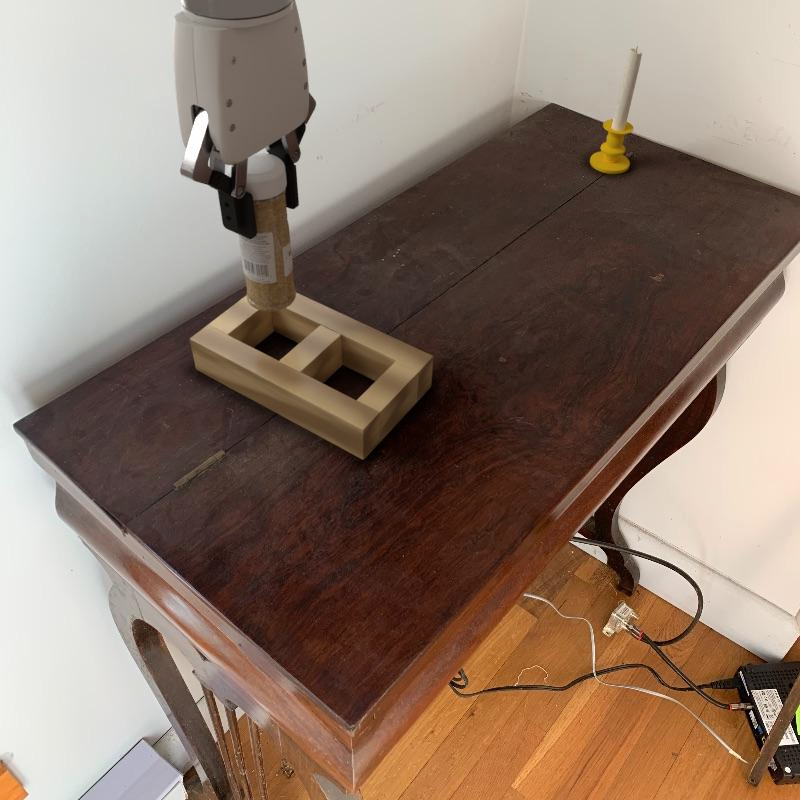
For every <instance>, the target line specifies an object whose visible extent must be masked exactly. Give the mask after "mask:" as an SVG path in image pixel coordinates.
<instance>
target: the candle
mask: <svg viewBox="0 0 800 800" xmlns="http://www.w3.org/2000/svg"><path fill="white" fill-rule="evenodd" d="M638 48H639V47H638V45H637V46H636V47H635V48H631V49H630V50H629V54H628V57H627V60H626V65H625V69H624V73H623V77H622V81H621V86H620V89H619V94H618V98H617V102H616V107H615V109H614V110H615V111H614V115H613V118H612V119H607V120H605V121H604V122H603V123H602V127H603V129H604V130H605V131H607V133H608V134H607V135H606V141H605V142H602V144H601V145H600V151H597V152H594V153H592V155H591V156H590V158H589V164H590V166H591V168H593V169H595V170H596V171H598V172H600V173H603V174H609V175H620V174H623V173H625V172H627V171H628V170H629V168H630V165H631V161H630V159H629V158H628V157H626V156H625V152H626V150H627V149H626V146H625V145H624V144H623V143H624V142H625V136H626V135H627V134H631V133H632V132H634V126H633V125H632V124H631V123H630V122H629V121H628V117H629V113H630V108H631V106H632V105H631V104H632V100H633V96H634V91H635V88H636V83H637V79H638V74H639V70H640V68H641V67H640V66H641V62H642V56H643V52H642V51H641V50H639V49H638Z"/></svg>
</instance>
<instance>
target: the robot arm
mask: <svg viewBox="0 0 800 800" xmlns="http://www.w3.org/2000/svg"><path fill="white" fill-rule="evenodd" d="M180 4H181V11H179V12H177V13H176V14H175V15H174V19H173V30H172V59H173V60H172V62H173V80H174V89H175V90H174V91H175V100H176V109H177V118H178V123H179V130H180V134H181V139H182V143H183V146H184V148H185V152H184V155H183V159H182V162H181V166H180V170H179V172H180V175H181V176H182V177H183V178H186V179H189V180H191V181H193V182H196V183H199V184H202V185H207V186H209V187H210V188H211V189H214V190H215V191H217V195H218V204H219V210H220V215H221V222H222V225H223V227H224V228H225V229H226V230H228V231H230V232H232V233H235V234H237V235H238V234H239V235H242V236H244V237H246V238H248V239H252V238H254V237H255V236H256V235H257V227H256V219H255V211H254V202H253V196H252V194H251V193H249V192H246V182H247V166H248V158H249V157H250V156H252V155H254V154H256V153H260V152H261V151H262V150H264V149H265V151H266V153H267V154H271V155H274V156H276V157H278V158H280V159H281V160H282V161H283V163H284V165H285V171H286V180H287V186H286V192H285V198H286V207H287V208H288V209H289V210H295V209H296V208H298V207H299V205H300V200H299V187H298V174H297V173H298V172H297V164H296V163H298V162H299V161H300V160H301V159H300V158H301V156H302V152H301V148H300V144H301V143H302V141H303V137H304V135H305V134H306V129H307V124H308V123H309V120H310V119H311V117H312V115H313V113H314V112H315V110H316V107H317V101H316V99H315V98H314V97H313V96H312V94H311V93H310V88H309V87H310V85H309V74H308V64H307V54H306V48H305V40H304V35H303V29H302V23H301V18H300V14H299V10H298V5H297V2H296V0H180ZM229 165H232V169H231V177H229V176H228V174H226V166H229Z"/></svg>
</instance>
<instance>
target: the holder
mask: <svg viewBox="0 0 800 800" xmlns="http://www.w3.org/2000/svg"><path fill="white" fill-rule="evenodd" d="M273 332H275V333H277V334H279V335H280V336H283V337H285V338H287V339H289V340H291V341H293V342H295V343H297V344H296V346H294V347H293V348H292V349H291V350H290V351H289V352H288V353H287V354H286V355H284V356H282V357H281V358H280V359H279V360H278V359H276V358H274V357H273V356H270V355H268V354H266V353H264V352H262V351H260V350H259V349H256V347H257V346H258V345H259V344H261V342H263V341H265V340H266V339H267V338H268V337H269V336H270V335H271V334H273ZM189 343H190V348H191V353H192V357H193V361H194V367H195V370H196V371H197V372H200V373H202V374H204V376H207V377H209V378H211V379H212V380H214V381H216V382H218V383H220V384H222V385H224V386H226V387H227V388H229V389H231V390H233V391H234V392H237V393H238V394H240V395H242V396H244V397H246V398H248V399H249V400H250V401H251V400H252V402H255V403H257V404H259V405H260V406H262V407H264V408H266V409H268V410H270V411H272V412H273V413H276V414H278V415H279V416H281V417H283V418H285V419H287V420H288V421H290V422H292V423H294V424H296V425H298V426H299V427H301V428H303V429H305V430H307V431H309V432H310V433H312V434H314V435H317V437H320V438H322V439H323V440H325V441H327V442H329V443H331V444H333V445H335V446H337V447H338V448H340V449H342V450H344V451H345V452H347V453H350V454H351V455H353V456H355V457H357V458H359V459H360V460H363V461H364V460H366V458H367V457H368V456H369V455H370V454H371V452H373V450H374V449H375V448H377V446H378V445H379V444H380V443H381V442H382V441H383V440H384V439H385V438H386V436H387V435H388V434H389V433H390V432H391V431H392V430H393V429H394V428H395V427H396V426H397V424H398V423H400V422H401V420H402V419H403V418H404V417H406V415H407V414H408V413H409V412H410V410H411V409H412V408H414V406H415V405H416V404H417V403H418V402H419V401H420V400H421V398H422V397H423V396H424V395H425V394H426V393H427V392H428V391H429V390H430V389H431V388H432V381H433V369H434V355H432V354H431V353H428V352H426V351H423V350H421V349H419V348H417V347H415V346H412V345H410V344H408V343H406V342H404V341H402V340H400V339H397V338H395V337H393V336H391V335H389V334H387V333H385V332H382V331H380V330H378V329H376V328H373V326H372V327H371V326H369V325H367V324H365V323H364V322H361V321H359V320H356V319H354V318H352V317H350V316H348V315H346V314H344V313H342V312H339V311H337V310H335V309H333V308H330V307H329V306H327V305H324V304H322V303H320V302H318V301H316V300H313V299H312V298H310V297H307V296H305V295H304V294H303V295H302V294H301V293H298V292H296V297H295V300H294V301H293V302H292V304H291V305H290V306H288V307H287V308H285V309H282V310H279V311H274V312H268V311H261V310H258V309H256V308H254V307H252V306H251V305H250V304H249V302H248V300H247V294H245V296H243V297H242V298H240V300H238V301H237V302H236V303H234V304H233V305H232V306H230V307H229V308H227V310H225V311H223V313H221V314H220V315H218V316H217V317H216V318H215V319H214V320H212V321H211V322H210V323H208V324H207V325H205V326H204V327H203V328H201V329H200V330H199V331H198V332H197V333H195V334H194V335H192V336H191V337H190V338H189ZM342 366H343V367H346V368H348V369H350V370H351V371H354V372H356V373H358V374H360V375H361V376H364V377H366V378H368V379H370V380H372V381H374V383H372V384H371V385H370V386H369V387H368V389H366V390H365V392H363V393H362V394H361V395H360V396H359V397H358V398H357V399H354V398H352V397H351V396H348V395H347V394H344V393H342V392H341V391H339V390H337V389H334V388H333V387H331V386H329V385H327V384H325V382H326V381H327V380H329V379H330V378H331V377H332V376H333V375H334V374H335V373H336V372H337V371H338V370H339V369H340V368H341V367H342Z"/></svg>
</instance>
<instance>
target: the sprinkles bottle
mask: <svg viewBox="0 0 800 800" xmlns="http://www.w3.org/2000/svg"><path fill="white" fill-rule="evenodd" d="M231 169H232V165H227V176H229V177H231ZM286 186H287V180H286V171H285V165H284V163H283V161H282V160H281V159H280V158H278V157H276V156H274V155H271V154H269V153H268V152H257V153H256V154H254V155H252V156H250V157H249V158H248V166H247V182H246V192H249V193H251V194H252V196H253V202H254V211H255V219H256V227H257V235H256V236H255V237H254V238H252V239H248V238H246V237H244V236H242V235H239V234H237V237H238V244H239V252H240V257H241V258H240V259H241V264H242V270H243V274H244V279H245V286H246V295H247V300H248V302H249V304H250V305H251V306H252V307H254V308H256V309H258V310H261V311H268V312H274V311H279V310H282V309H285V308H287V307H288V306H290V305H291V304H292V302H293V301H294V300H295V297H296V293H297V290H296V287H295V282H294V273H293V272H294V271H293V269H294V263H293V253H292V246H291V245H292V242H291V233H290V224H289V221H288V210H287V207H286V198H285V192H286Z"/></svg>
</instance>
